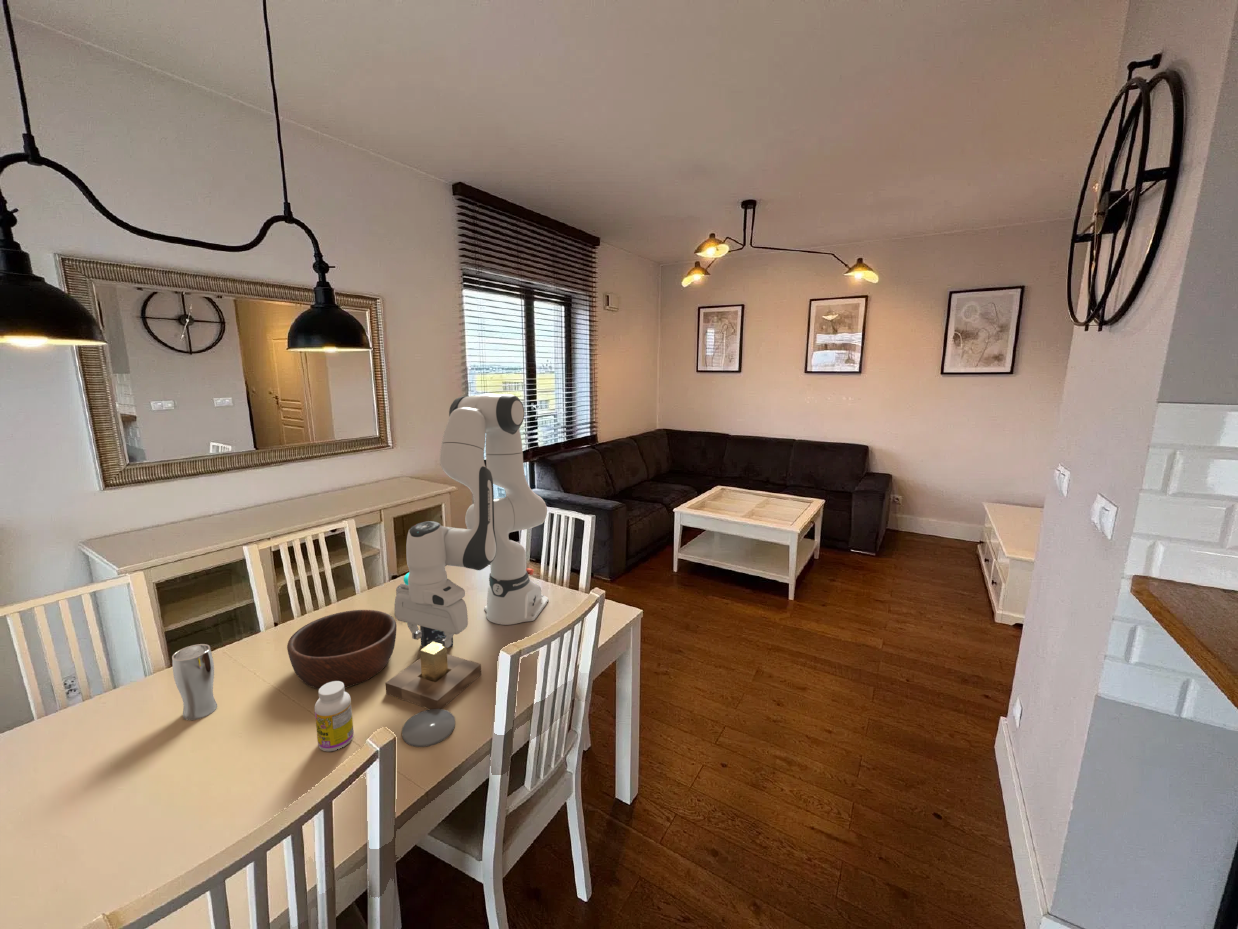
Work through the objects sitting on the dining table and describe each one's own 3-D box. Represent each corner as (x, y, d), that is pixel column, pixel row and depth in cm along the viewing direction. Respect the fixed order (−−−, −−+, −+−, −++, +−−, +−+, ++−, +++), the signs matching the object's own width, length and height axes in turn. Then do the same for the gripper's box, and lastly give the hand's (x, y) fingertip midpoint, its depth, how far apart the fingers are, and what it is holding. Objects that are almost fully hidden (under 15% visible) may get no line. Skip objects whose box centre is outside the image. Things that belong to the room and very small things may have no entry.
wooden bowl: (340, 636, 148) (337, 604, 146) (417, 648, 143) (415, 615, 141) (265, 689, 124) (261, 651, 122) (355, 705, 119) (351, 665, 117)
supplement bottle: (313, 742, 107) (307, 688, 105) (346, 726, 112) (341, 673, 110) (325, 758, 103) (320, 702, 100) (359, 740, 108) (354, 687, 105)
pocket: (433, 659, 138) (432, 649, 137) (481, 674, 132) (481, 664, 131) (386, 693, 123) (385, 682, 123) (437, 712, 117) (437, 700, 117)
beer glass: (176, 725, 111) (166, 664, 108) (185, 706, 117) (175, 647, 114) (216, 716, 114) (207, 656, 111) (222, 698, 120) (214, 640, 117)
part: (434, 677, 130) (432, 641, 128) (448, 681, 129) (446, 645, 127) (422, 686, 126) (420, 650, 124) (436, 691, 125) (434, 654, 123)
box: (425, 654, 140) (423, 619, 138) (420, 644, 145) (418, 610, 143) (453, 646, 144) (452, 612, 142) (448, 637, 149) (447, 604, 147)
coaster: (427, 706, 119) (427, 703, 119) (465, 720, 115) (465, 717, 115) (390, 737, 109) (390, 734, 109) (430, 753, 105) (430, 750, 105)
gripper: (386, 587, 123) (390, 639, 126) (452, 601, 116) (455, 657, 118) (405, 578, 129) (409, 628, 131) (470, 591, 121) (473, 644, 124)
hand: (431, 642), depth 125 cm, fingers open, 8 cm apart
